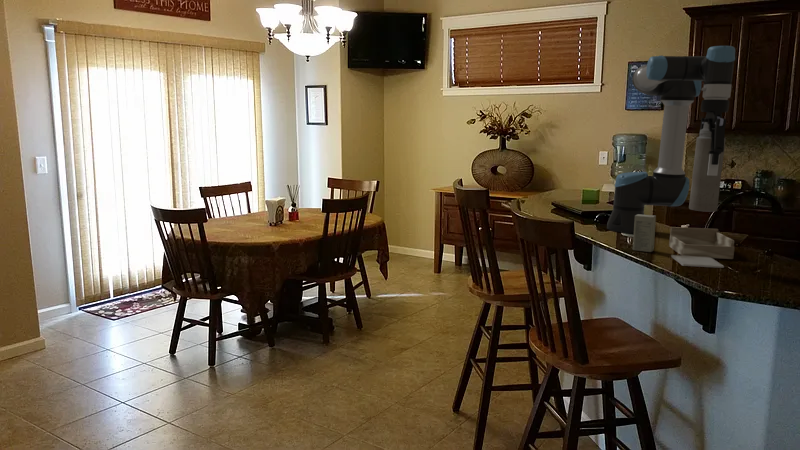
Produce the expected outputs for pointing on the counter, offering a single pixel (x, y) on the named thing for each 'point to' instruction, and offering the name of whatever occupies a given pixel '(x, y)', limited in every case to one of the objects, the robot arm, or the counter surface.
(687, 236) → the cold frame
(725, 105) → the robot arm
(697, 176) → the thermos bottle
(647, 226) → the skincare box
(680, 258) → the ceramic tile
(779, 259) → the counter surface
